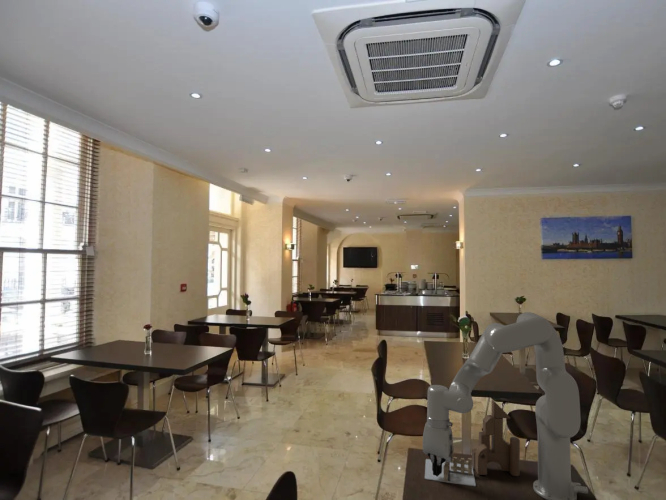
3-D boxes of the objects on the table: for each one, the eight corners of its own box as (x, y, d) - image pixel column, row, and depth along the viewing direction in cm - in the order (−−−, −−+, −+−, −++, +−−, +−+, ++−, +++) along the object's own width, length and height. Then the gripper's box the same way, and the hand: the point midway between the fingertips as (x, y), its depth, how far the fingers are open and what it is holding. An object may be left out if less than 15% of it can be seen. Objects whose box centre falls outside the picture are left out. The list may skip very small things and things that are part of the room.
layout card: (472, 465, 146) (472, 464, 146) (475, 486, 132) (475, 485, 132) (425, 459, 150) (425, 458, 150) (424, 479, 137) (424, 478, 137)
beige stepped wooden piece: (445, 469, 142) (445, 454, 142) (449, 469, 142) (449, 455, 142) (443, 482, 134) (443, 466, 134) (447, 482, 133) (447, 467, 134)
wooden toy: (477, 475, 139) (478, 404, 140) (471, 465, 145) (472, 398, 146) (521, 477, 138) (521, 406, 139) (513, 467, 145) (513, 399, 146)
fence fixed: (471, 474, 140) (471, 458, 140) (471, 476, 139) (471, 459, 139) (450, 471, 142) (450, 455, 142) (450, 473, 141) (450, 457, 141)
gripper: (462, 424, 135) (461, 477, 135) (423, 413, 145) (422, 462, 145) (453, 431, 130) (452, 487, 129) (413, 418, 139) (412, 470, 139)
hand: (436, 474), depth 137 cm, fingers closed
